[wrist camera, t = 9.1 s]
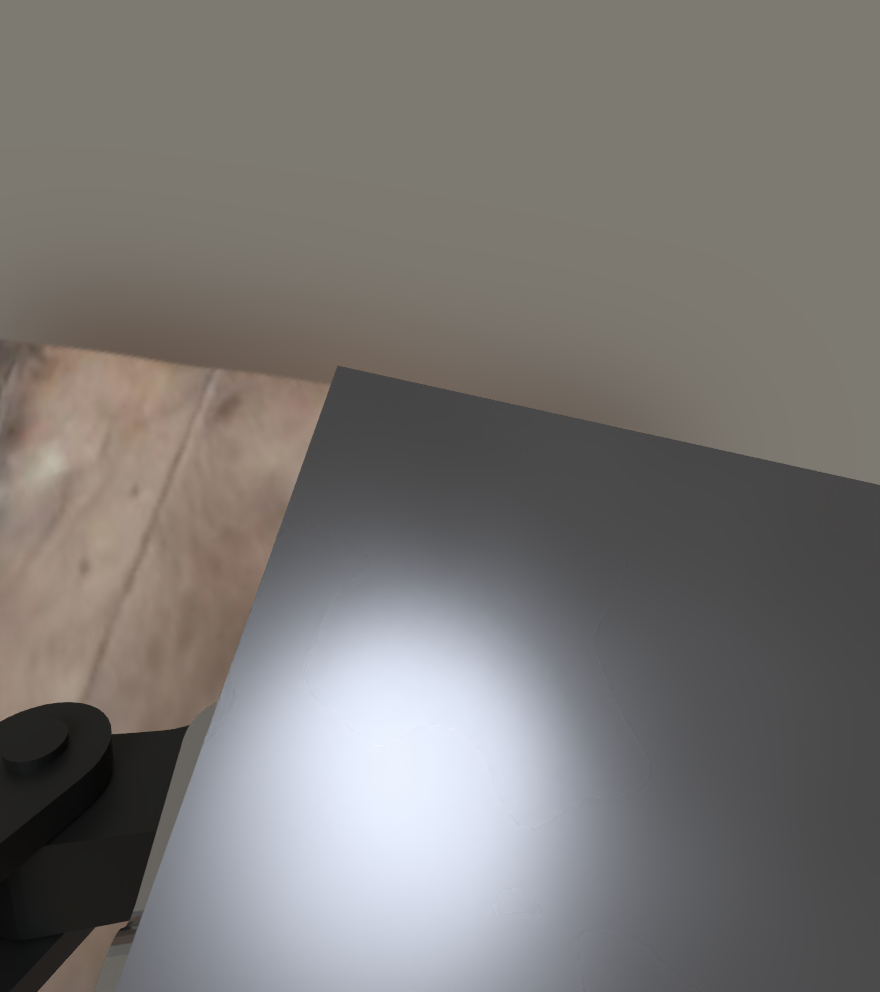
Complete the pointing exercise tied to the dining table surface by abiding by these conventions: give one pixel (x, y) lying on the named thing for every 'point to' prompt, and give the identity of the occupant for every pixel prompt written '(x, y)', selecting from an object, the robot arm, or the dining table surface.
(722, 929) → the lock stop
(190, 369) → the dining table surface
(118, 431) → the dining table surface
